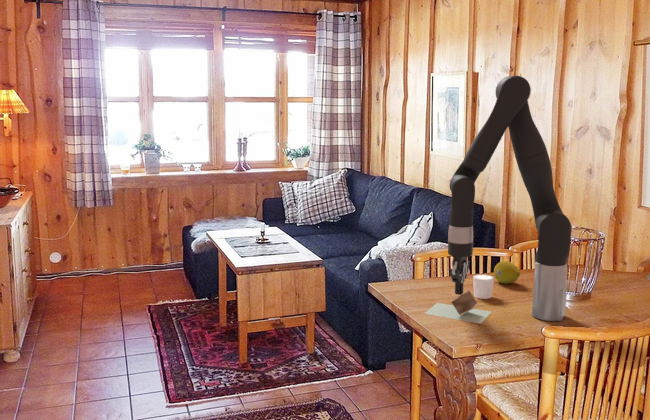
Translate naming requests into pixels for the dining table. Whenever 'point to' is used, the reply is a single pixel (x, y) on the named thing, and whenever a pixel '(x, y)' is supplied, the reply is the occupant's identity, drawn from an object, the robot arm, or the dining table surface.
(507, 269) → the lemon
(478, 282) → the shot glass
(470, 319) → the rubber mat
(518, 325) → the dining table surface
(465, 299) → the copper block
